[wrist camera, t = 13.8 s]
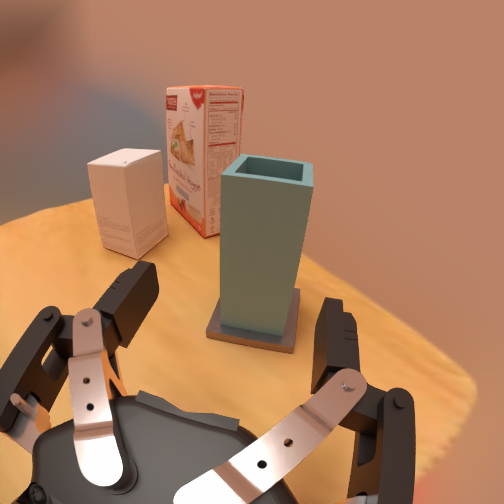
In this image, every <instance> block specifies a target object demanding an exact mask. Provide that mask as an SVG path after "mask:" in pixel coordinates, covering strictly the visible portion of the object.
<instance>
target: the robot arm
mask: <svg viewBox="0 0 504 504" xmlns="http://www.w3.org/2000/svg"><path fill="white" fill-rule="evenodd" d="M158 294H159V284H158V278H157V272H156V266H155V264H154V263H150V262H145V261H141V260H140V261H138V262H137V263H136V264H135V265H134V267H133V268H132V269H127V270H125V271H124V272H122V273H121V274H120V275H119V276H118V277H117V278H116V279H115V281H114V282H113V283H112V284H111V286H110V288H108V289H107V290H106V292H105V293H104V294H103V295H102V297H101V298H100V299H99V301H98V302H97V303H96V304H95V306H94V307H93V308H87V309H83V310H81V311H79V312H78V313H77V314H76V315H75V316H71V315H62V314H61V312H60V310H59V309H58V308H57V307H55V306H48V307H46V308H44V309H42V310H41V311H40V312H39V314H38V315H37V316H36V318H35V319H34V320H33V322H32V323H31V324H30V326H29V327H28V328H27V330H26V331H25V333H24V334H23V336H22V337H21V338H20V340H19V341H18V343H17V344H16V346H15V347H14V349H13V350H12V352H11V353H10V355H9V357H8V358H7V360H6V361H5V363H4V364H3V366H2V368H1V369H0V432H1V433H2V434H4V435H5V436H7V437H8V438H10V439H11V440H13V441H15V442H17V443H18V444H19V445H20V446H22V447H23V448H24V449H25V450H27V451H28V452H29V453H31V454H32V462H33V470H32V479H31V483H30V485H29V487H28V488H27V489H26V490H25V491H24V492H23V493H22V494H21V495H20V496H19V497H18V498H17V499H16V500H14V501H13V502H12V503H11V504H299V503H298V501H297V500H296V498H295V497H294V495H293V494H292V492H291V490H290V489H289V487H288V486H287V484H286V483H285V481H284V479H283V478H282V477H284V476H285V475H286V474H287V473H288V472H290V471H291V470H292V469H293V468H294V467H295V466H296V465H298V464H299V463H300V462H301V461H302V460H303V459H304V458H305V457H306V456H307V455H308V454H310V453H311V452H312V451H313V450H314V449H315V448H316V447H317V446H318V445H319V444H320V443H321V442H322V441H323V440H324V439H325V438H326V437H327V436H328V435H329V434H330V433H331V431H332V430H333V429H334V428H335V427H336V426H337V425H340V426H342V427H345V428H347V429H350V430H353V431H355V442H354V452H353V460H352V468H351V475H350V481H349V488H348V494H347V499H344V500H341V501H339V502H337V503H335V504H412V502H413V494H414V493H413V492H414V481H415V457H416V434H415V409H414V400H413V397H412V396H411V394H410V393H409V392H408V391H406V390H405V389H402V388H393V389H391V390H389V391H388V392H386V391H383V390H380V389H378V388H375V387H373V386H371V385H369V384H368V383H367V382H366V380H365V378H364V376H363V375H362V374H361V372H360V360H359V346H358V335H357V324H356V321H355V319H354V317H353V316H352V314H351V313H348V312H343V302H342V300H340V299H334V298H328V297H326V298H325V300H324V302H323V305H322V308H321V311H320V314H319V317H318V319H317V323H316V327H315V337H314V355H313V370H312V383H311V394H314V395H313V396H312V397H311V398H310V399H309V400H308V401H307V402H306V403H305V404H303V405H300V406H298V407H297V408H296V409H295V410H293V411H292V412H291V413H290V414H289V415H288V416H286V417H285V418H284V419H283V420H282V421H280V422H279V423H278V424H277V425H276V426H274V427H273V428H272V429H271V430H269V431H268V432H267V433H265V434H264V435H263V436H262V437H260V438H259V439H258V438H257V437H256V436H255V435H254V434H253V433H251V432H250V431H249V430H247V429H245V428H244V427H242V426H239V419H235V418H230V417H226V416H222V415H218V414H214V413H191V412H184V411H182V410H180V409H179V408H177V407H175V406H174V405H172V404H171V403H169V402H167V401H166V400H164V399H163V398H160V397H157V396H155V395H152V394H149V393H146V392H144V391H141V390H139V393H138V395H137V396H136V395H129V396H128V395H127V393H126V390H125V388H124V385H123V381H122V377H121V372H120V367H119V361H118V356H117V351H116V349H117V347H118V346H122V347H125V348H127V347H128V345H129V344H130V342H131V340H132V339H133V337H134V335H135V334H136V332H137V330H138V329H139V327H140V325H141V324H142V322H143V320H144V319H145V317H146V316H147V314H148V312H149V311H150V309H151V307H152V306H153V304H154V303H155V301H156V299H157V297H158ZM50 346H52V347H53V349H52V350H51V352H50V354H49V355H48V357H47V358H46V360H45V362H44V363H43V365H41V362H42V358H43V357H44V355H45V353H46V352H47V350H48V349H49V347H50ZM68 375H69V383H70V394H71V403H72V411H73V419H71V420H69V421H67V422H64V423H62V424H60V425H58V426H56V427H53V428H51V423H50V416H49V412H50V409H51V407H52V405H53V403H54V401H55V399H56V397H57V395H58V394H59V392H60V390H61V388H62V386H63V384H64V382H65V380H66V378H67V377H68Z"/></svg>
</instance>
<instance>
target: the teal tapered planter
mask: <svg viewBox="0 0 504 504" xmlns="http://www.w3.org/2000/svg"><path fill="white" fill-rule="evenodd" d="M312 192H313V168H312V163H307V162H301V161H294V160H287V159H280V158H273V157H264V156H256V155H247V154H241V155H240V156H239V157H238V158H237V159H236V160H235V161H234V162H233V163H232V164H231V165H230V166H229V167H228V168H227V169H226V170H225V171H224V172H223V173H222V174H221V195H220V325H225V326H230V327H235V328H240V329H245V330H250V331H256V332H261V333H267V334H272V335H278V336H283V334H284V330H285V325H286V321H287V317H288V312H289V308H290V304H291V299H292V295H293V290H294V286H295V281H296V276H297V271H298V267H299V262H300V257H301V252H302V247H303V242H304V237H305V231H306V225H307V221H308V215H309V210H310V204H311V198H312Z"/></svg>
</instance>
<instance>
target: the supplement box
mask: <svg viewBox="0 0 504 504" xmlns="http://www.w3.org/2000/svg"><path fill="white" fill-rule="evenodd" d="M87 166H88V173H89V179H90V185H91V191H92V197H93V203H94V208H95V213H96V217H97V222H98V226H99V231H100V235H101V239H102V243H103V247H104V248H107V249H110V250H113V251H116V252H118V253H121V254H124V255H127V256H129V257H132V258H135V259H140V258H141V257H142V256H143V255H144V254H146V253H147V252H148V251H149V250H150V249H152V248H153V247H154V246H155V245H157V244H158V243H159V242H160V241H161V240H162V239H164V238H165V237H166V236H167V235H168V227H167V217H166V207H165V195H164V182H163V166H162V151H160V150H144V149H122V150H119V151H116V152H113V153H111V154H108V155H106V156H103V157H101V158H99V159H96V160H94V161H92V162H90V163H88V164H87Z"/></svg>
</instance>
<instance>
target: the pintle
mask: <svg viewBox="0 0 504 504" xmlns="http://www.w3.org/2000/svg"><path fill="white" fill-rule="evenodd" d="M299 296H300V289H297V288H294V290H293V295H292V299H291V304H290V308H289V312H288V317H287V321H286V325H285V330H284V334H283V336H278V335H272V334H267V333H261V332H256V331H250V330H245V329H240V328H235V327H230V326H225V325H220V298H219V300H218V303H217V305H216V308H215V310H214V312H213V315H212V317H211V320H210V322H209V324H208V327H207V329H206V335H207V337H209V338H213V339H217V340H222V341H227V342H231V343H236V344H241V345H246V346H251V347H256V348H262V349H267V350H273V351H279V352H285V353H293V349H294V344H295V336H296V326H297V317H298V307H299Z"/></svg>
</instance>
